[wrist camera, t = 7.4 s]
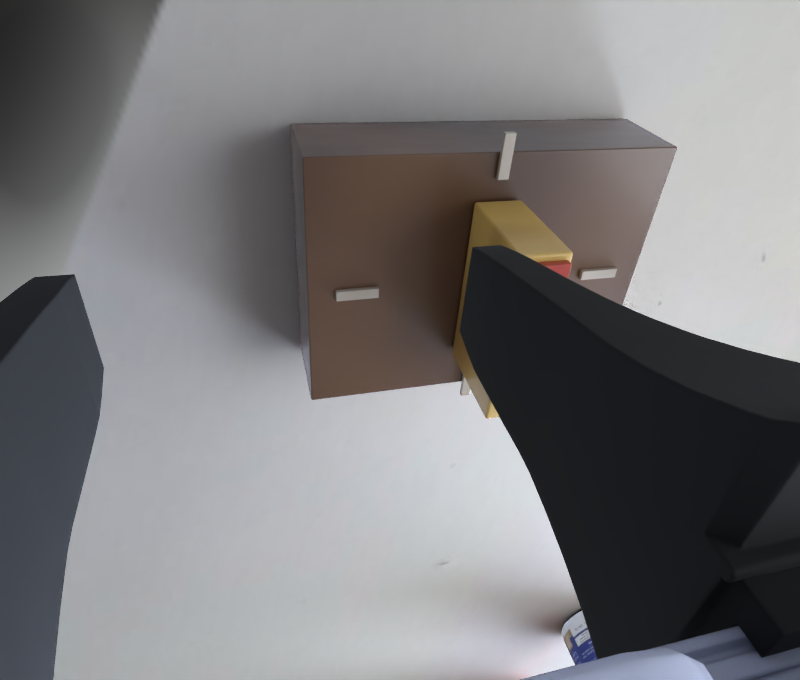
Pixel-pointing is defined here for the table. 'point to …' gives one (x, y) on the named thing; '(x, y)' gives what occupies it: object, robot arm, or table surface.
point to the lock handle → (521, 234)
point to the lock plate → (448, 230)
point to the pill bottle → (578, 639)
